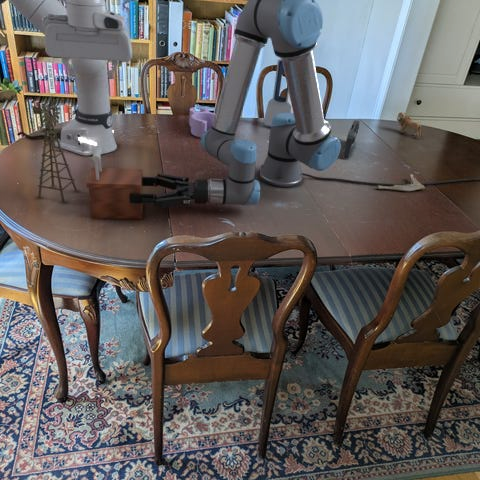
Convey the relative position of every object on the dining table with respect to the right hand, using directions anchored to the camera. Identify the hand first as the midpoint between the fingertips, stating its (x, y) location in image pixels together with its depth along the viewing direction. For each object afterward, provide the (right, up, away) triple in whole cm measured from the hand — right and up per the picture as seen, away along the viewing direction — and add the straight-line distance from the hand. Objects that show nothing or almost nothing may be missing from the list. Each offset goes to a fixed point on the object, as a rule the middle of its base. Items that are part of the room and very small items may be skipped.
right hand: (131, 189), depth 135 cm
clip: (+16, +32, +65) cm, 75 cm away
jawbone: (+89, +6, +36) cm, 96 cm away
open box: (-5, -6, +3) cm, 8 cm away
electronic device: (+49, +37, +78) cm, 99 cm away
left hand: (-6, +26, -18) cm, 32 cm away
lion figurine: (+111, +36, +87) cm, 145 cm away
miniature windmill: (-24, -1, +8) cm, 25 cm away
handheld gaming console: (+78, +23, +62) cm, 102 cm away
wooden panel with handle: (-4, +2, -2) cm, 5 cm away
